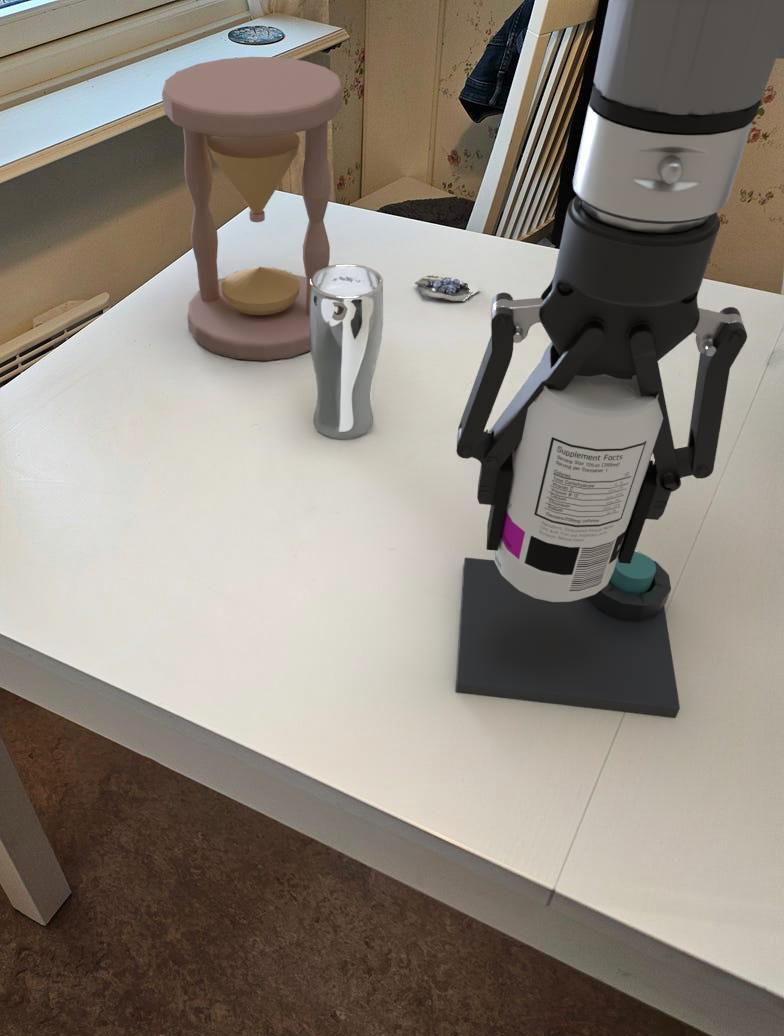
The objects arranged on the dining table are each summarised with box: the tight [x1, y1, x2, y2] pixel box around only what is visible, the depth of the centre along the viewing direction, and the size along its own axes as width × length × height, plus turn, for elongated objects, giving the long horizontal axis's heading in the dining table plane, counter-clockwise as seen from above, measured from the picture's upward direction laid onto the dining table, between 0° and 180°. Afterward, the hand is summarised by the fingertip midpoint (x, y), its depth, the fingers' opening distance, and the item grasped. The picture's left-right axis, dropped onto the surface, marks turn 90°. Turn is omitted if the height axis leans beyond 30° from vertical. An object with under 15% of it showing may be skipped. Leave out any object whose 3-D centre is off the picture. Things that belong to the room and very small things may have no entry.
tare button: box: [610, 551, 656, 594], centre depth 71 cm, size 3×3×2 cm
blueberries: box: [414, 274, 473, 302], centre depth 110 cm, size 7×8×2 cm
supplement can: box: [493, 374, 663, 602], centre depth 58 cm, size 8×8×15 cm
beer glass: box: [308, 263, 384, 440], centre depth 86 cm, size 7×7×15 cm
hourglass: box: [161, 56, 343, 362], centre depth 97 cm, size 18×18×25 cm
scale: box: [454, 557, 681, 719], centre depth 70 cm, size 16×15×3 cm
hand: (557, 543), depth 62 cm, fingers closed on supplement can, 8 cm apart
